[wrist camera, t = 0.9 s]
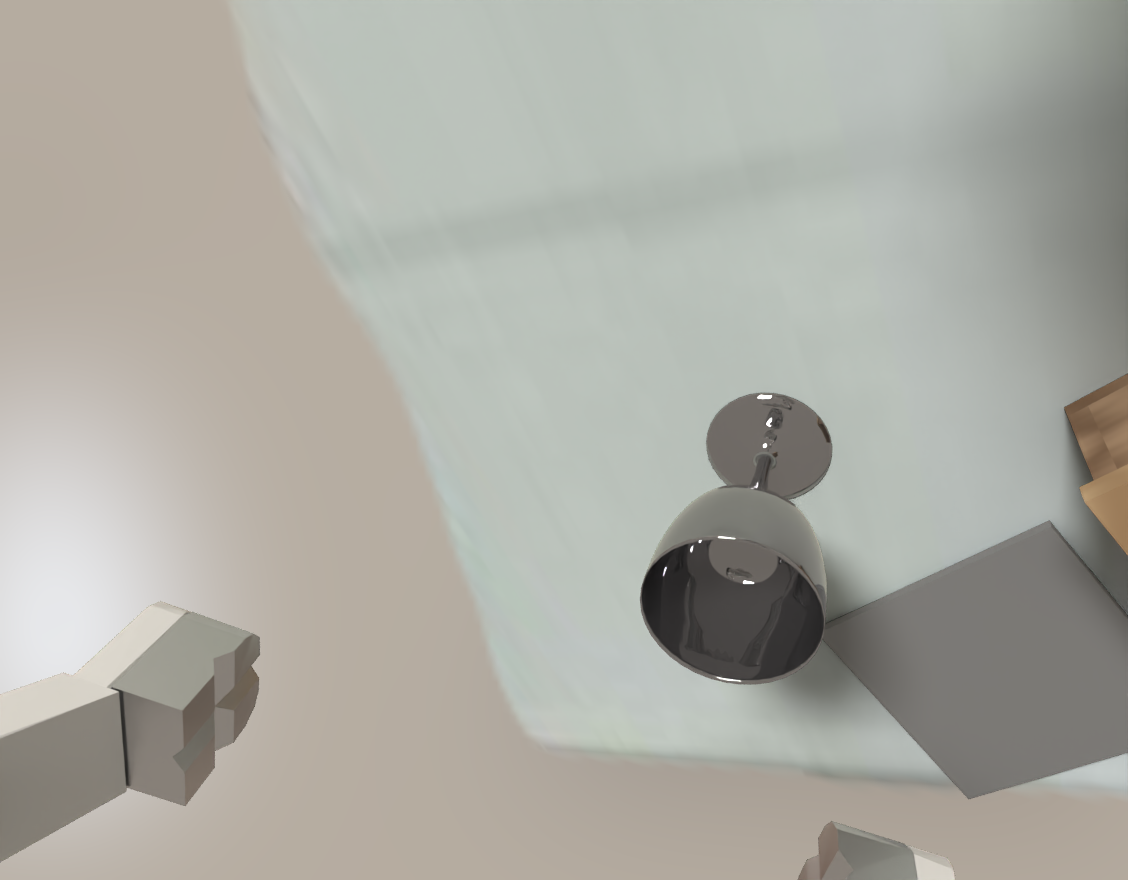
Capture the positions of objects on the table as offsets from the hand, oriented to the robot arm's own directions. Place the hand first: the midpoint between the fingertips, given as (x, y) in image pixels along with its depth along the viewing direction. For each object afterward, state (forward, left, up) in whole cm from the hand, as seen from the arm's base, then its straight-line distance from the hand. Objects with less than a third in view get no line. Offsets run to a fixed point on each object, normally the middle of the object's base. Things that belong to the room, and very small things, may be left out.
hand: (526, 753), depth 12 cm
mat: (+8, +31, -36) cm, 49 cm away
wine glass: (+10, +12, -37) cm, 40 cm away
